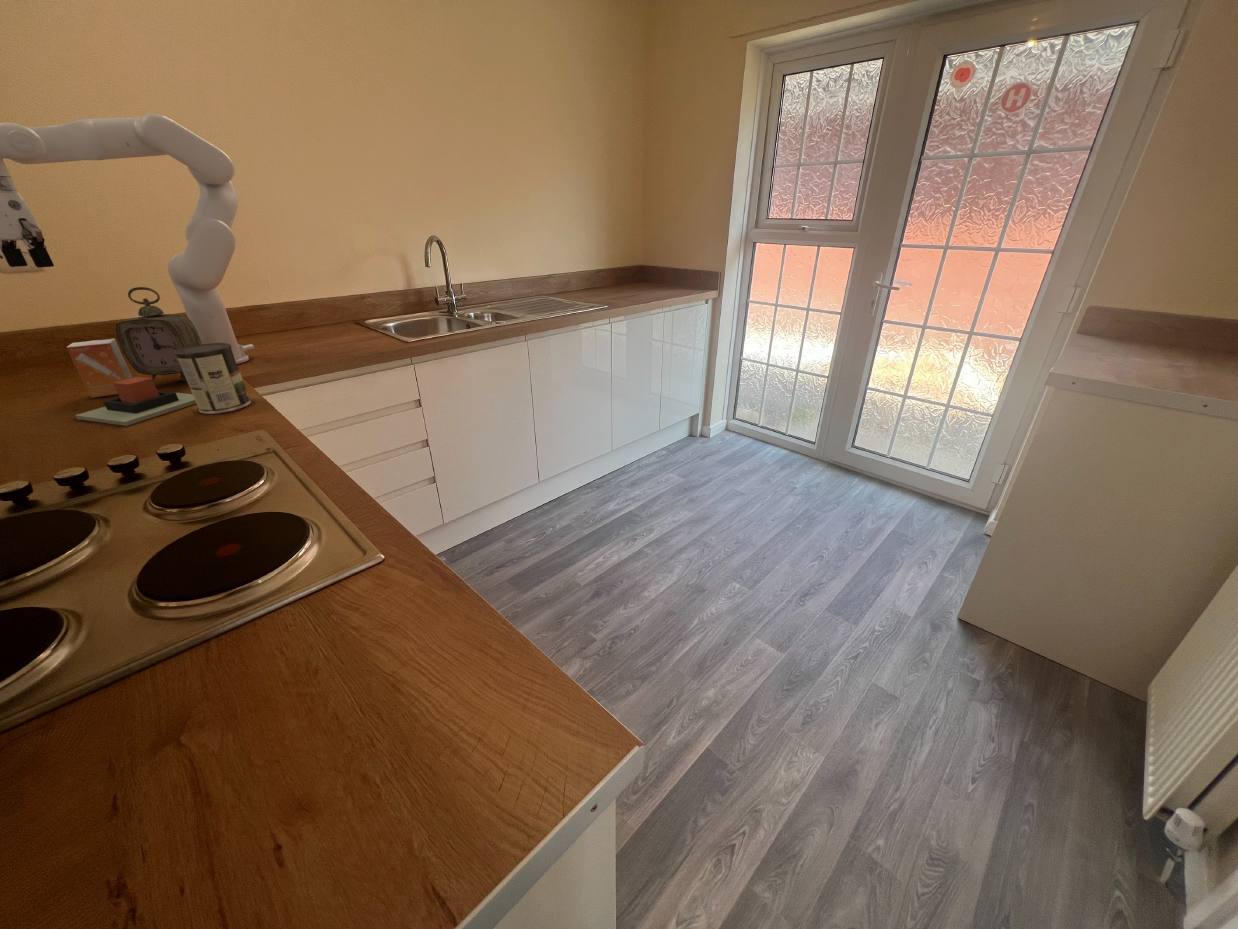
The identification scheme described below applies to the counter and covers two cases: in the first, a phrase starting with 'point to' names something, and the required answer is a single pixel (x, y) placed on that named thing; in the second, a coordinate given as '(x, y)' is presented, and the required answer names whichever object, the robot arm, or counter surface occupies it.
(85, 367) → the small box
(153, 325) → the tabletop clock
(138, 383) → the pad block
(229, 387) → the coffee can
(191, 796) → the counter surface
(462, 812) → the counter surface
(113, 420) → the back pad
